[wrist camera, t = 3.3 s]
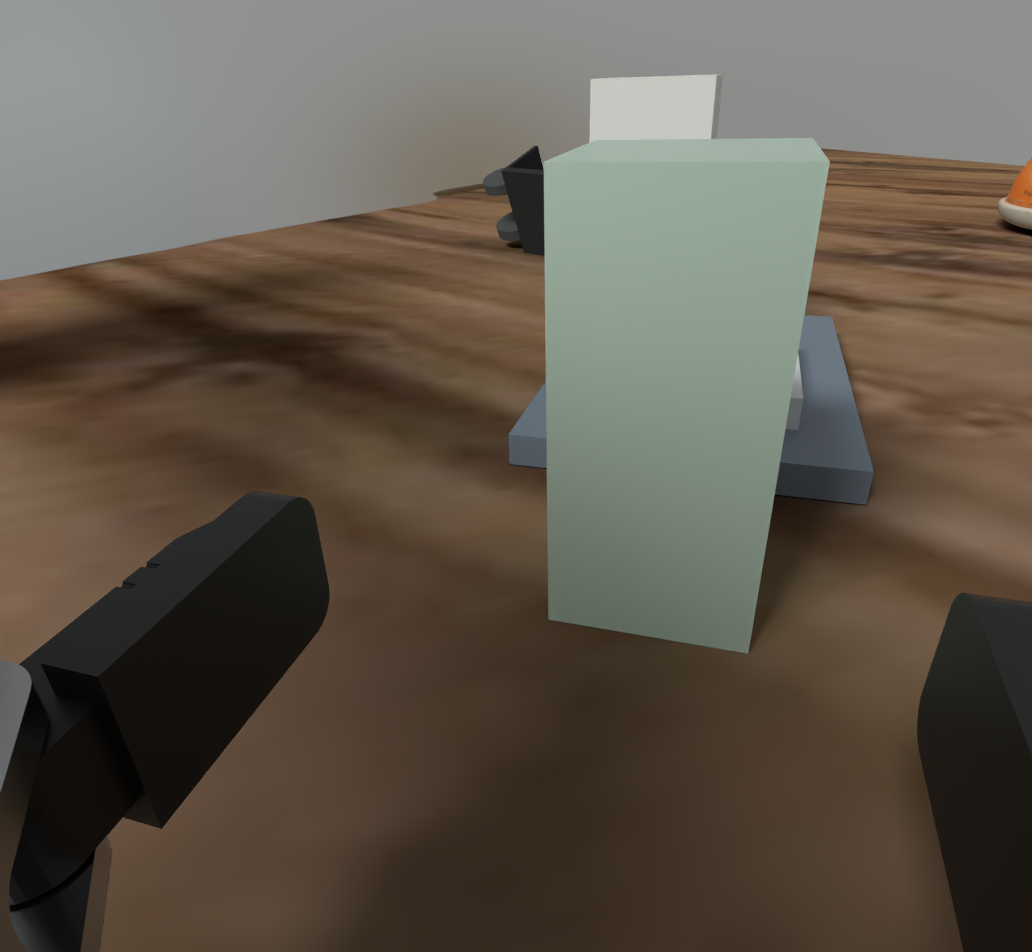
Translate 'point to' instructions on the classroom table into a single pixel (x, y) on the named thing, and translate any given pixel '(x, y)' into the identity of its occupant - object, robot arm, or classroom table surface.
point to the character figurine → (521, 200)
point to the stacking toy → (1019, 200)
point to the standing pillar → (655, 107)
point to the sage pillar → (671, 374)
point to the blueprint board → (808, 435)
